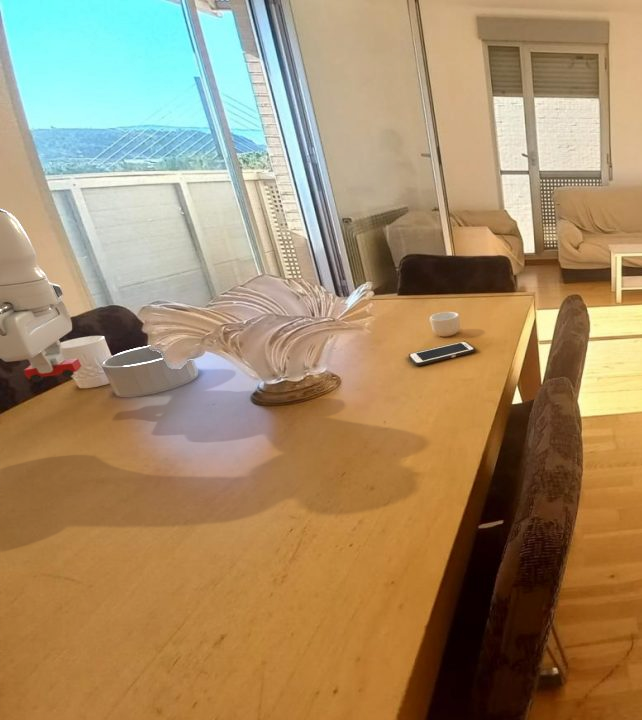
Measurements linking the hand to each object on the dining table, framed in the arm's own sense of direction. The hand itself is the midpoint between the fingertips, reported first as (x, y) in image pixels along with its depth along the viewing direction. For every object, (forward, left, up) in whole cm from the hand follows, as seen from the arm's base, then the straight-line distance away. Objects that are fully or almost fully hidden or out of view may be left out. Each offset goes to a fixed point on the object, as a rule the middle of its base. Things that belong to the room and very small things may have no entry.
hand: (52, 367), depth 91 cm
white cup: (-1, +19, -10) cm, 21 cm away
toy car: (0, 0, -2) cm, 2 cm away
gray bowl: (+11, +10, -10) cm, 18 cm away
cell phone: (+69, -12, -10) cm, 70 cm away
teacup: (+74, +5, -10) cm, 74 cm away
